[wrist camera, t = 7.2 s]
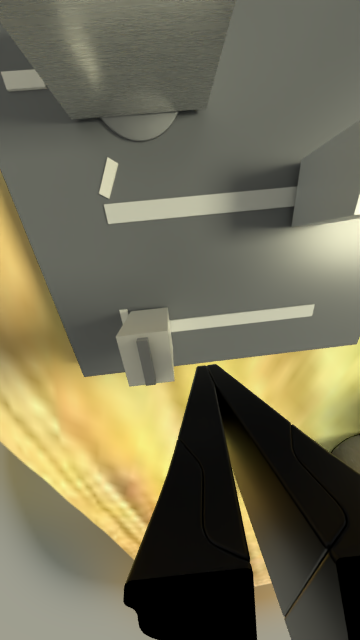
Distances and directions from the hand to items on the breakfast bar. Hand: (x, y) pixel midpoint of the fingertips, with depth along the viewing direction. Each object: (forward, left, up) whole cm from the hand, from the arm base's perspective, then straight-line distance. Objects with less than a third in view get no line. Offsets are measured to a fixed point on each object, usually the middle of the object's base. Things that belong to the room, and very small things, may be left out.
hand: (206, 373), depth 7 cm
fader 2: (-7, -7, -5) cm, 11 cm away
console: (-2, -6, -7) cm, 9 cm away
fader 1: (+3, 0, -5) cm, 5 cm away
